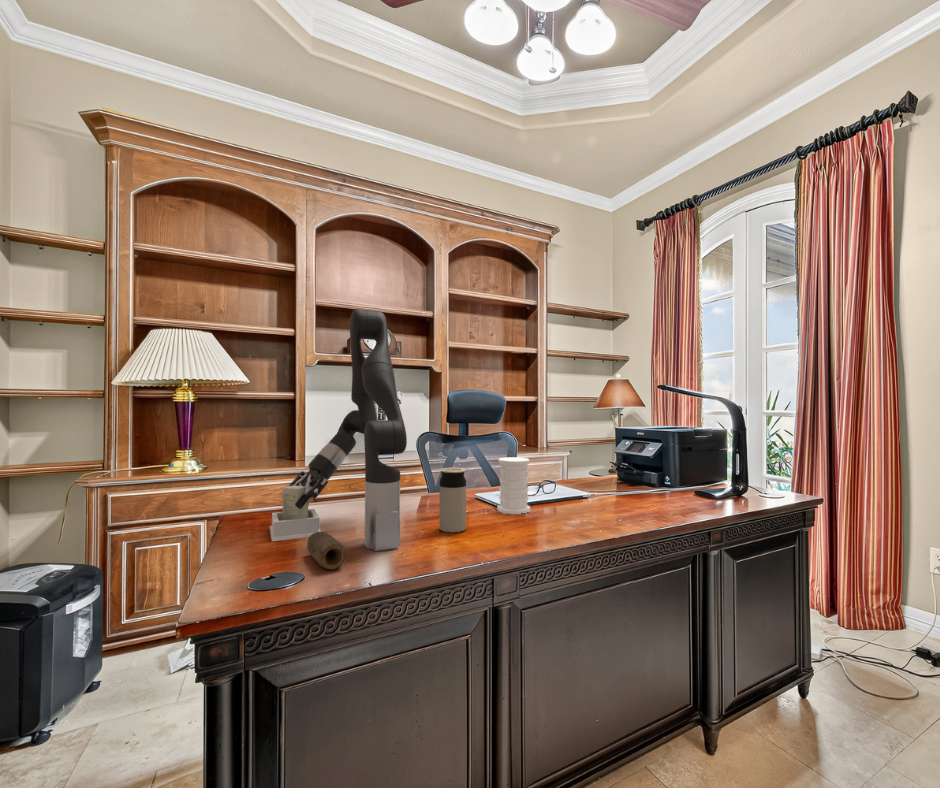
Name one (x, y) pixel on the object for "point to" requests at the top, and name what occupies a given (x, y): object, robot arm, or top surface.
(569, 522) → the top surface
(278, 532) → the bottle stand
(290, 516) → the skincare box
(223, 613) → the top surface
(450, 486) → the travel mug
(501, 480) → the decorative container
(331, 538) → the brown hollow cylinder
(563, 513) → the top surface
